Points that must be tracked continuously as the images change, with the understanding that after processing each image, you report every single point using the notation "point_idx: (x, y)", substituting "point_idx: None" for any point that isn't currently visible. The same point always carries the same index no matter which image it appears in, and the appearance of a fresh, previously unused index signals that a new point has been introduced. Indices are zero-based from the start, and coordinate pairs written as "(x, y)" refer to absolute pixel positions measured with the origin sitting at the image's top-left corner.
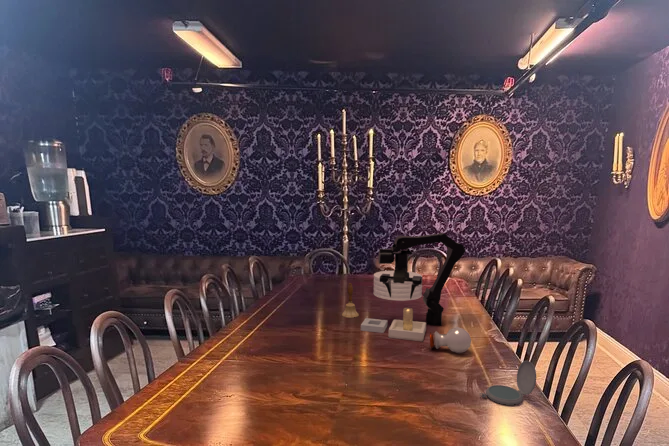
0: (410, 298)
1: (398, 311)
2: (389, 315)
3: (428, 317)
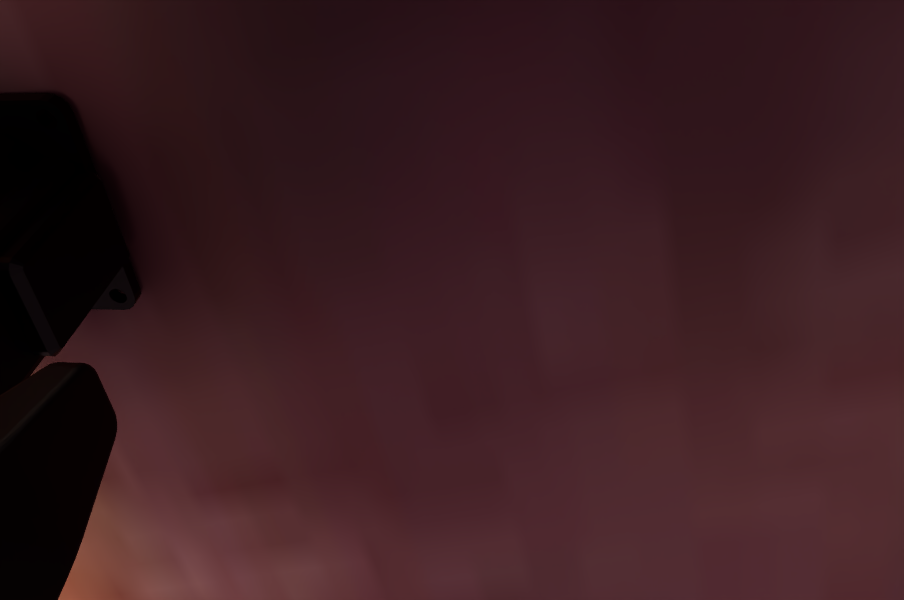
0: (76, 364)
1: (657, 546)
2: (796, 377)
3: (7, 208)
